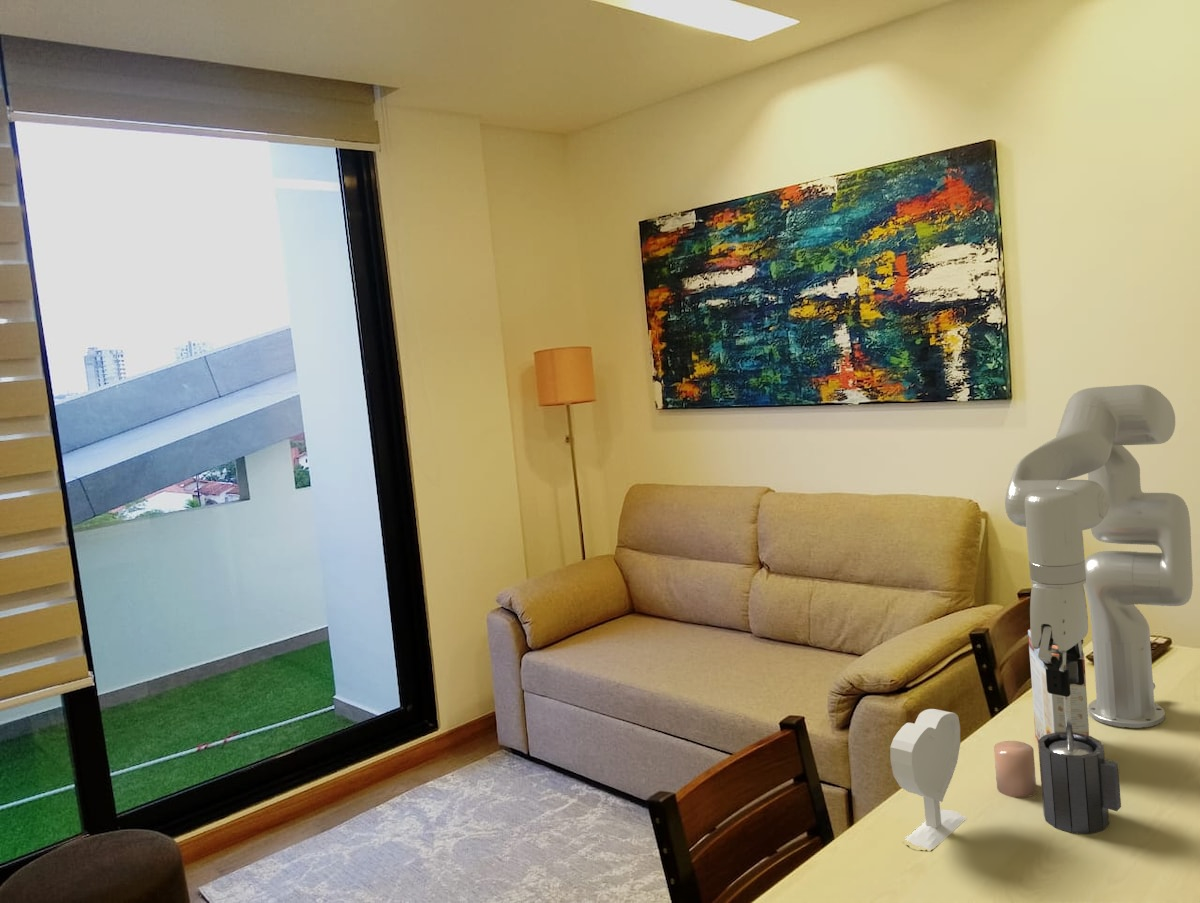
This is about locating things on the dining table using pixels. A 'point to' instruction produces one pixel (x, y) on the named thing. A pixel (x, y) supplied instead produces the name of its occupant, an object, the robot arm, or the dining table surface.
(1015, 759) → the pink rounded cylinder
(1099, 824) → the grey paneled mug
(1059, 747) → the plunger
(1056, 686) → the robot arm
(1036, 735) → the cracker box
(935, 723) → the heart sculpture
